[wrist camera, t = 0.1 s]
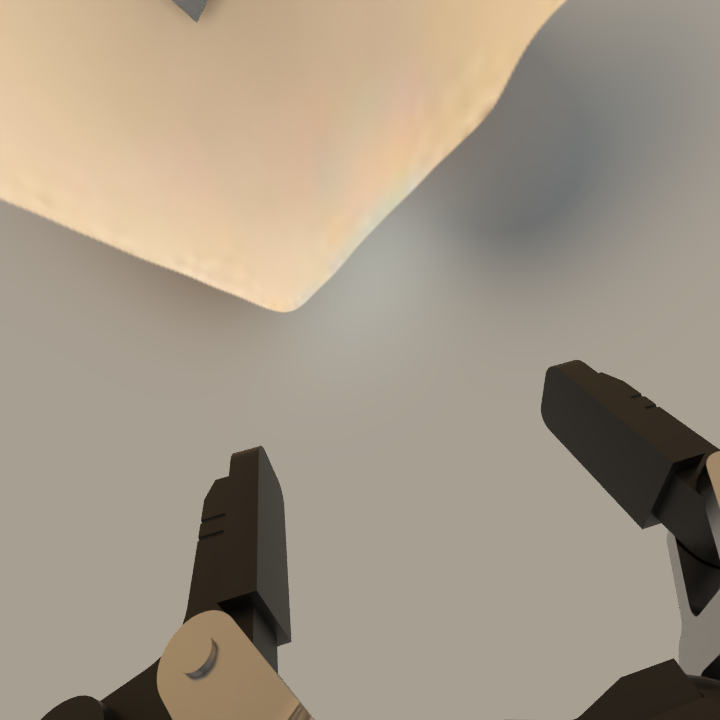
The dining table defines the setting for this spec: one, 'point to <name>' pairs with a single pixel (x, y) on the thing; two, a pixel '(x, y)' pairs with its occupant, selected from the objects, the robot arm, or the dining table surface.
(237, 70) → the dining table surface
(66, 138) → the dining table surface
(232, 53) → the dining table surface
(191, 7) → the grey control panel
